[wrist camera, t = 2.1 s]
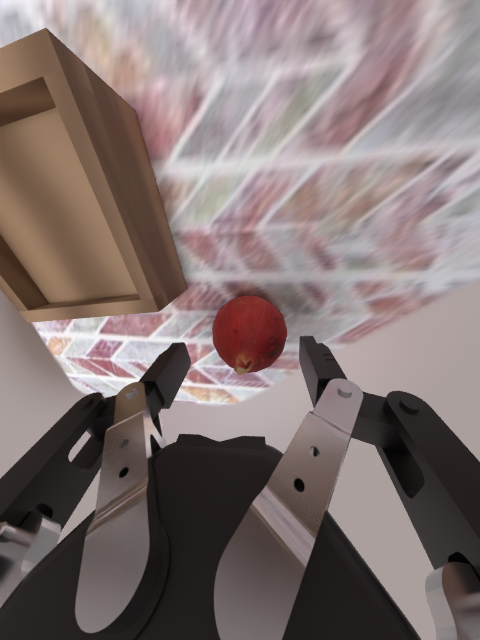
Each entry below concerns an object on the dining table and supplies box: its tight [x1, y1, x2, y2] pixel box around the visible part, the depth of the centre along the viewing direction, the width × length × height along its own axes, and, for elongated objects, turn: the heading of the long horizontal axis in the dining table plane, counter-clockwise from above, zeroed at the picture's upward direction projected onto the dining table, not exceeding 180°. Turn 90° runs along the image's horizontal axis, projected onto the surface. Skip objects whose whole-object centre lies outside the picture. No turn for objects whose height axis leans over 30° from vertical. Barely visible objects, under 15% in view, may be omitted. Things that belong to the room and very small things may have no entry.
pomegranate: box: [212, 296, 287, 375], centre depth 13 cm, size 6×6×8 cm
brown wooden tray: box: [0, 28, 187, 323], centre depth 13 cm, size 12×12×6 cm
